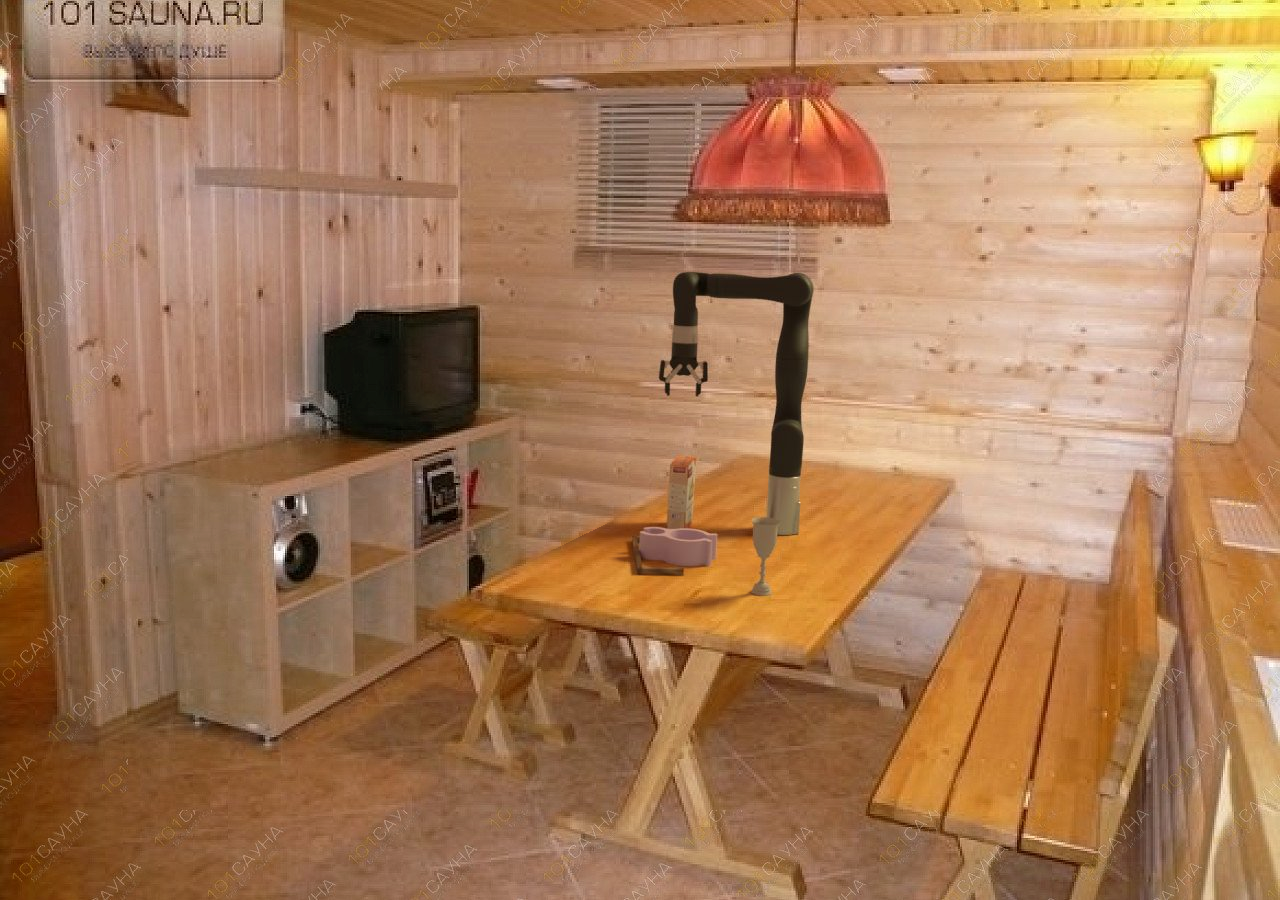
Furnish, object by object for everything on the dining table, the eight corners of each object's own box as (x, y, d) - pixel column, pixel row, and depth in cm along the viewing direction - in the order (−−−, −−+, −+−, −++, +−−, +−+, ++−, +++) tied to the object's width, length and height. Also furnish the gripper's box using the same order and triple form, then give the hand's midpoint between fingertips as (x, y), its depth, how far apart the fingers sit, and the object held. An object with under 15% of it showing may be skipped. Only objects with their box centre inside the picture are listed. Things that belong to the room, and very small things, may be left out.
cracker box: (686, 536, 310) (689, 465, 306) (665, 534, 311) (668, 463, 307) (693, 524, 324) (696, 455, 319) (673, 522, 325) (676, 454, 321)
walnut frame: (673, 542, 304) (673, 536, 304) (683, 575, 275) (683, 569, 275) (632, 541, 304) (632, 536, 303) (637, 574, 275) (637, 568, 274)
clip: (634, 560, 287) (635, 535, 285) (646, 548, 298) (647, 524, 297) (708, 569, 281) (709, 544, 280) (718, 556, 293) (719, 531, 292)
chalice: (745, 587, 268) (749, 516, 264) (772, 587, 268) (776, 517, 265) (750, 597, 261) (754, 525, 257) (778, 597, 261) (782, 525, 258)
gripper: (707, 340, 320) (704, 394, 324) (659, 338, 320) (657, 393, 323) (710, 343, 313) (707, 398, 316) (661, 341, 312) (659, 397, 315)
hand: (682, 395), depth 320 cm, fingers open, 8 cm apart
